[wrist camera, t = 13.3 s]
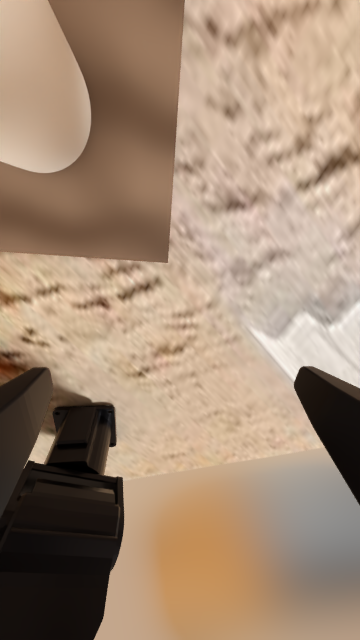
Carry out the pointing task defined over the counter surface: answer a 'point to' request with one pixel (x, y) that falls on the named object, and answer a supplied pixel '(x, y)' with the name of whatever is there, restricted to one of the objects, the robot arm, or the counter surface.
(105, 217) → the base
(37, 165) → the can
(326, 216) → the counter surface
